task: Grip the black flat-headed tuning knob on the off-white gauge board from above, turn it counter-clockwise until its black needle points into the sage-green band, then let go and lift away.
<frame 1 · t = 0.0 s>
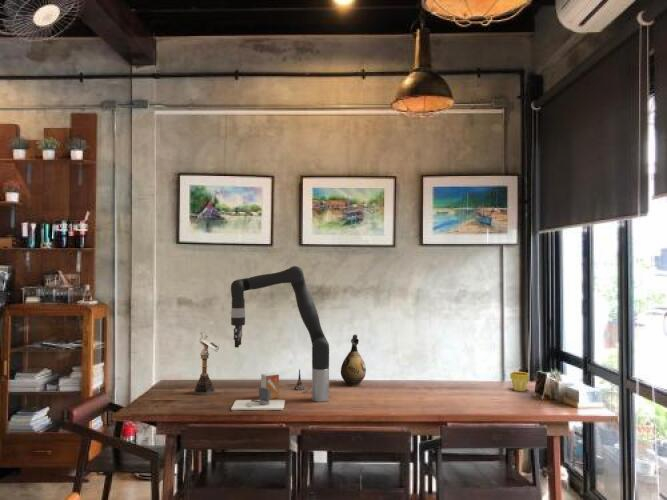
hand: (238, 346, 303), 29 cm above the table, tool pointing down, fingers open, 8 cm apart
ceramic jug: (353, 384, 342), on the table
tuning knob: (260, 394, 291), point 6 cm above the table, hinge at -35.0°
plant pot: (519, 390, 328), on the table
small box: (269, 397, 309), on the table
pedestal telescope: (209, 392, 320), on the table
eiffel tower figurine: (300, 390, 327), on the table
gauge board: (258, 406, 290), on the table
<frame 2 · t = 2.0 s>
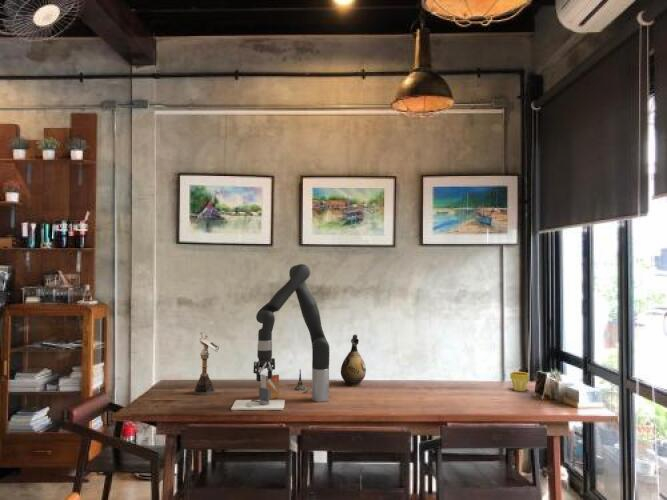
hand: (264, 379, 290), 14 cm above the table, tool pointing down, fingers open, 8 cm apart
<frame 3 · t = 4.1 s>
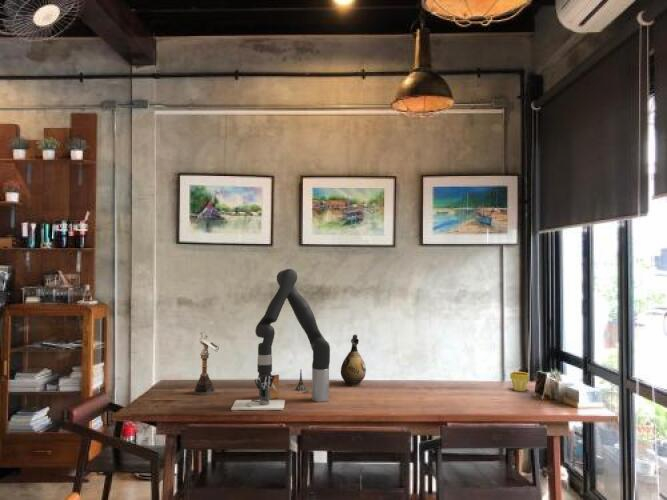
hand: (264, 396, 290), 6 cm above the table, tool pointing down, fingers closed on tuning knob, 2 cm apart
tuning knob: (260, 394, 291), point 6 cm above the table, hinge at -35.0°, touching gripper
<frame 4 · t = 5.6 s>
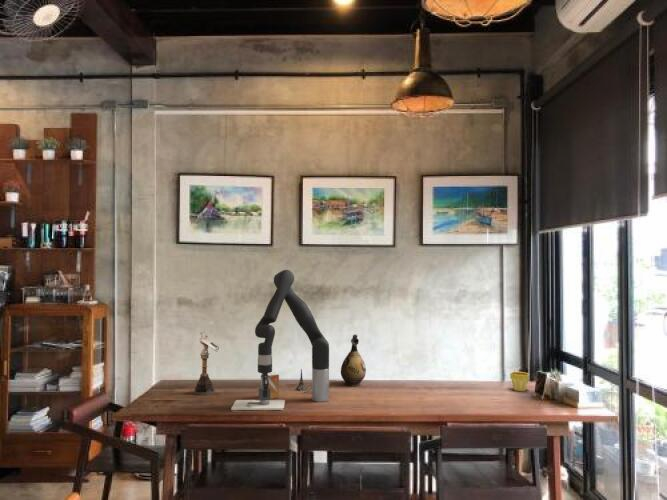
hand: (264, 396, 290), 6 cm above the table, tool pointing down, fingers closed on tuning knob, 2 cm apart
tuning knob: (259, 395, 289), point 6 cm above the table, hinge at 2.9°, touching gripper
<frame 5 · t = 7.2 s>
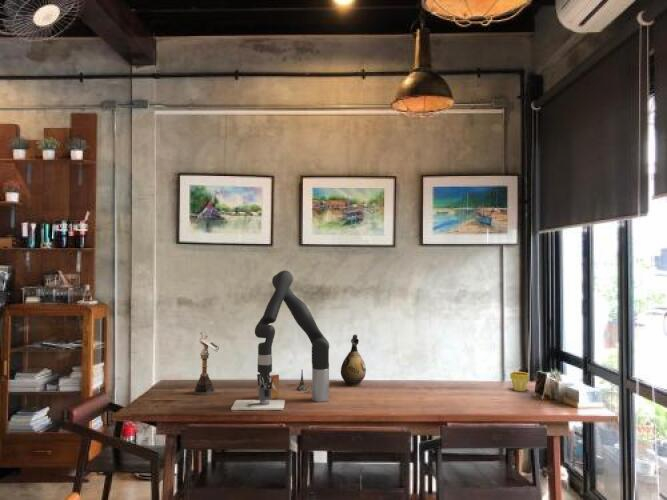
hand: (264, 395, 290), 6 cm above the table, tool pointing down, fingers open, 4 cm apart
tuning knob: (259, 396, 288), point 6 cm above the table, hinge at 27.1°
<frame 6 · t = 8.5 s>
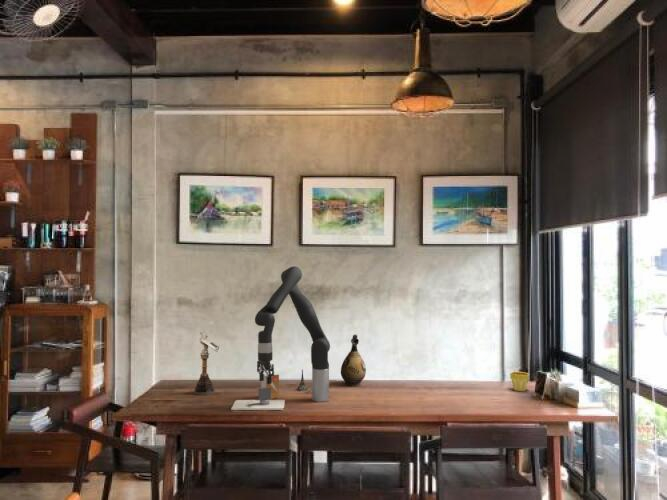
hand: (265, 382, 289), 13 cm above the table, tool pointing down, fingers open, 8 cm apart
tuning knob: (259, 396, 288), point 6 cm above the table, hinge at 28.0°
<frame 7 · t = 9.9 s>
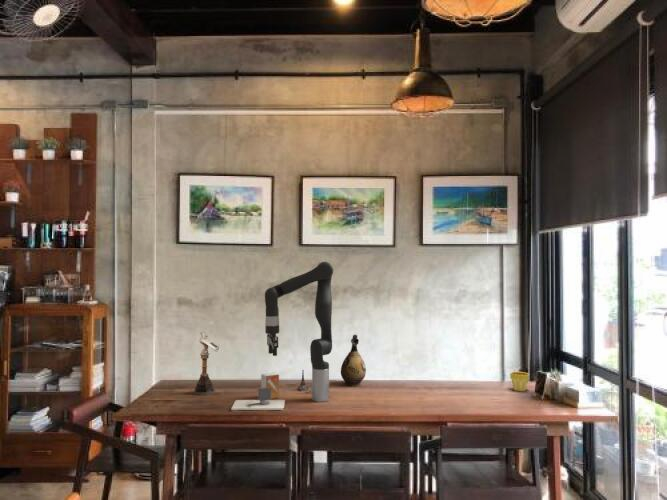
hand: (272, 354, 301), 25 cm above the table, tool pointing down, fingers open, 8 cm apart
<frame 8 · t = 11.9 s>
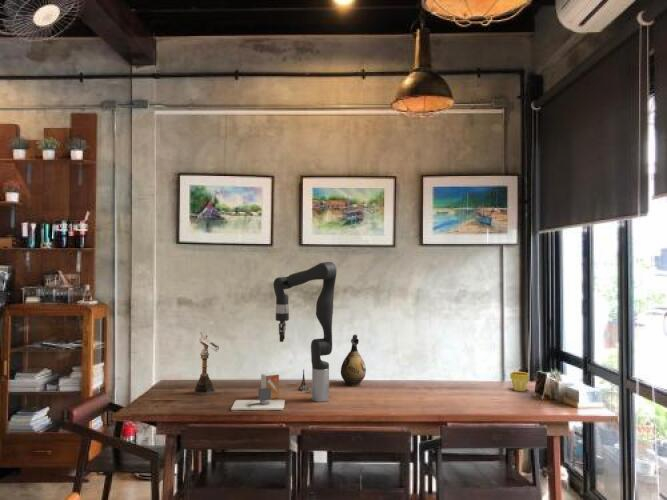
hand: (282, 340, 318), 30 cm above the table, tool pointing down, fingers open, 8 cm apart
at the end: tuning knob at +28° (first picture: -35°); the gripper is holding nothing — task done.
